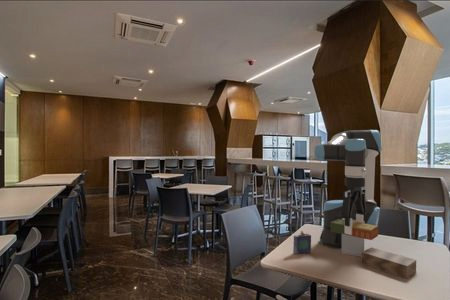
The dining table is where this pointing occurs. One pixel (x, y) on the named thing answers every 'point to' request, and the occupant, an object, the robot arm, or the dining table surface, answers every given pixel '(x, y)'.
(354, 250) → the board
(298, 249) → the flask
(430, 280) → the dining table surface
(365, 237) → the carton
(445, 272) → the dining table surface
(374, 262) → the walnut block
